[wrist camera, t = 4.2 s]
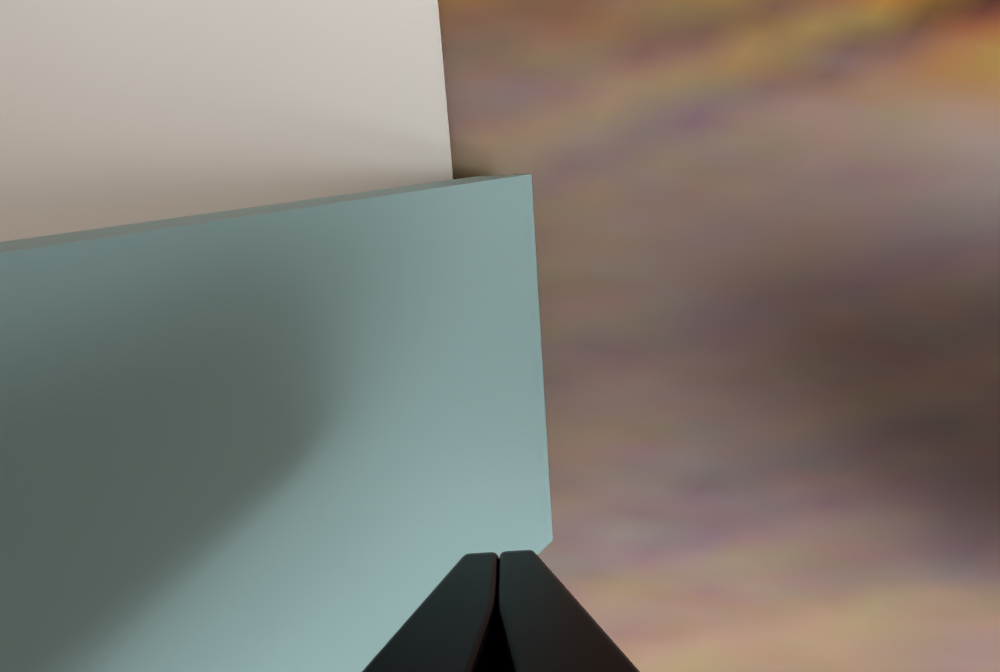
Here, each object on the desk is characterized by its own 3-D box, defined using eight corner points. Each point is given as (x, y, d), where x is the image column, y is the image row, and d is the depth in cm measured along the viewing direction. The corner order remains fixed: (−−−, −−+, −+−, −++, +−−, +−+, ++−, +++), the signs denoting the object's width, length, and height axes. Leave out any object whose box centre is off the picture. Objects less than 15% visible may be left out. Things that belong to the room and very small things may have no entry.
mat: (434, -38, 15) (432, -41, 15) (496, 671, 20) (495, 679, 20) (-204, 14, 16) (-217, 12, 15) (5, 698, 20) (-2, 706, 20)
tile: (531, 173, 16) (-198, 282, 6) (552, 540, 18) (49, 1027, 8) (468, 176, 17) (-248, 274, 7) (496, 524, 19) (-13, 946, 9)
